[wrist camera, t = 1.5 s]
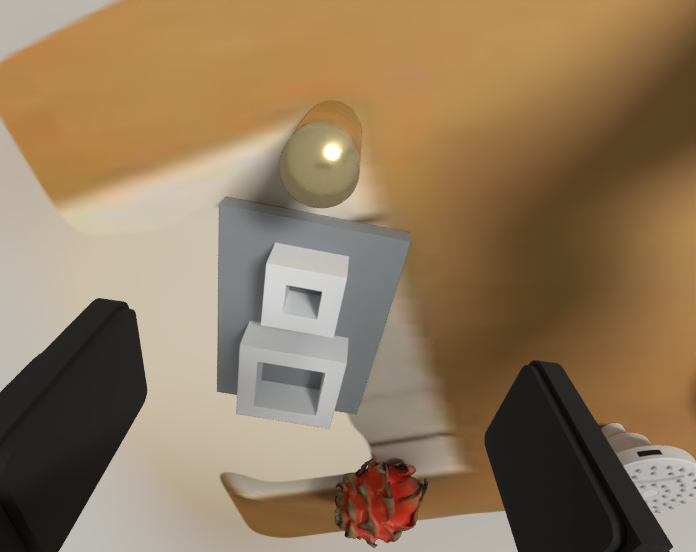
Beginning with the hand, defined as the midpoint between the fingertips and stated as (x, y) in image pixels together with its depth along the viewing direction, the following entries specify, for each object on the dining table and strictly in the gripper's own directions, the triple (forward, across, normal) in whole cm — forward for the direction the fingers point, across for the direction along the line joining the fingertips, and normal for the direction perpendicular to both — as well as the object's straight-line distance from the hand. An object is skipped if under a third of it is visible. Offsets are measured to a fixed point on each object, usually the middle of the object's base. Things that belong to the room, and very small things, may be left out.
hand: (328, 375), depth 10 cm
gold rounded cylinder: (+20, +1, -1) cm, 20 cm away
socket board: (+20, +2, +15) cm, 25 cm away
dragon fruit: (+21, -10, +36) cm, 43 cm away
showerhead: (+20, -32, +23) cm, 45 cm away
